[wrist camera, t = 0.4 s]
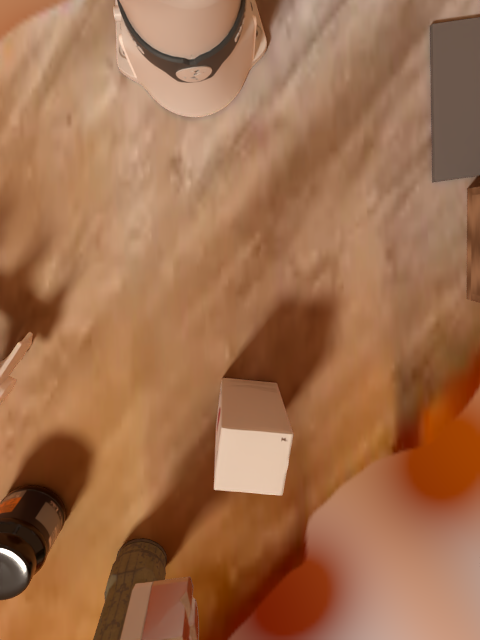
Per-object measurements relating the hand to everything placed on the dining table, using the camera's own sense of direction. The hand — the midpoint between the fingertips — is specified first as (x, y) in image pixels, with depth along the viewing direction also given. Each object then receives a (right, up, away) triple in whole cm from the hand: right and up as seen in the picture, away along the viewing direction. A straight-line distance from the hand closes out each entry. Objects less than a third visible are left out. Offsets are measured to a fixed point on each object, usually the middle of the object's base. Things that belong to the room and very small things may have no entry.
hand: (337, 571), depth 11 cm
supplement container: (-37, -24, +53) cm, 69 cm away
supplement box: (-2, -7, +50) cm, 51 cm away
